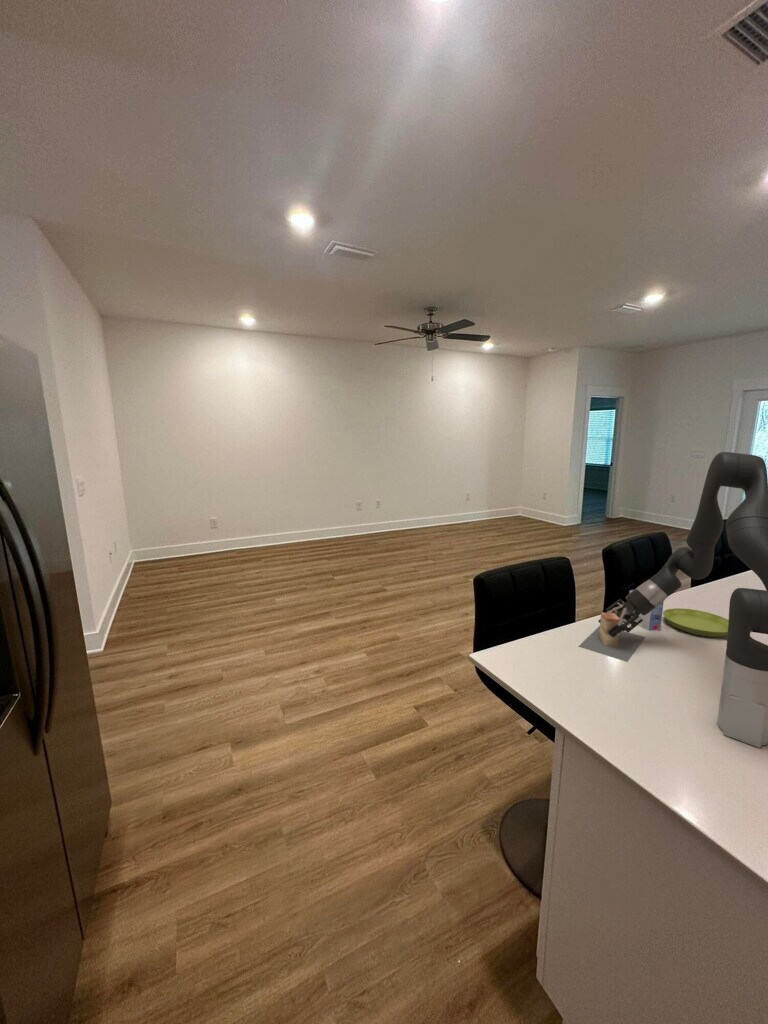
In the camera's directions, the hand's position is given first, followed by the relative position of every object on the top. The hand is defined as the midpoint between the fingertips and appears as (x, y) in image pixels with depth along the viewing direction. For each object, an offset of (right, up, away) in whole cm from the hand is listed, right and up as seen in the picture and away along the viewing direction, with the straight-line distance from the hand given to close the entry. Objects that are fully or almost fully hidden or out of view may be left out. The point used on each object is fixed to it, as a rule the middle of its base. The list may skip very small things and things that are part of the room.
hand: (605, 629), depth 134 cm
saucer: (+39, -3, +12) cm, 41 cm away
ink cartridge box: (+21, -3, +13) cm, 25 cm away
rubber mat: (+3, -5, +1) cm, 6 cm away
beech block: (+1, -4, 0) cm, 5 cm away
